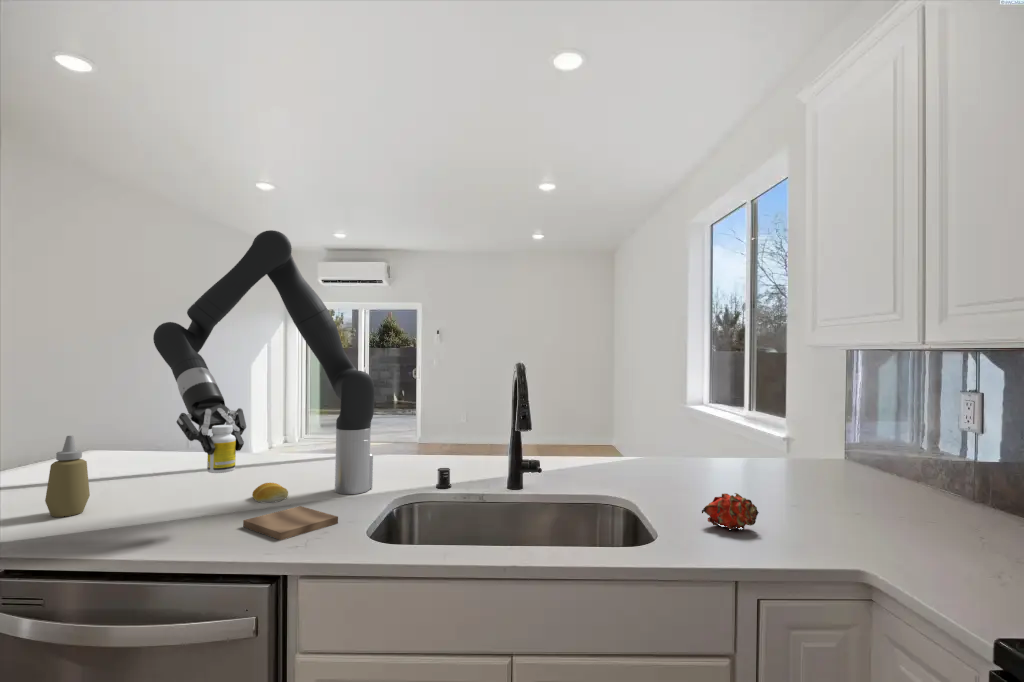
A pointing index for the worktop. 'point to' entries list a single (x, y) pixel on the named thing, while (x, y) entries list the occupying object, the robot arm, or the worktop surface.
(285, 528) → the walnut board
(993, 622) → the worktop surface
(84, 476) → the squeeze bottle
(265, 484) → the bread roll
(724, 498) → the dragon fruit
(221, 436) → the supplement bottle
